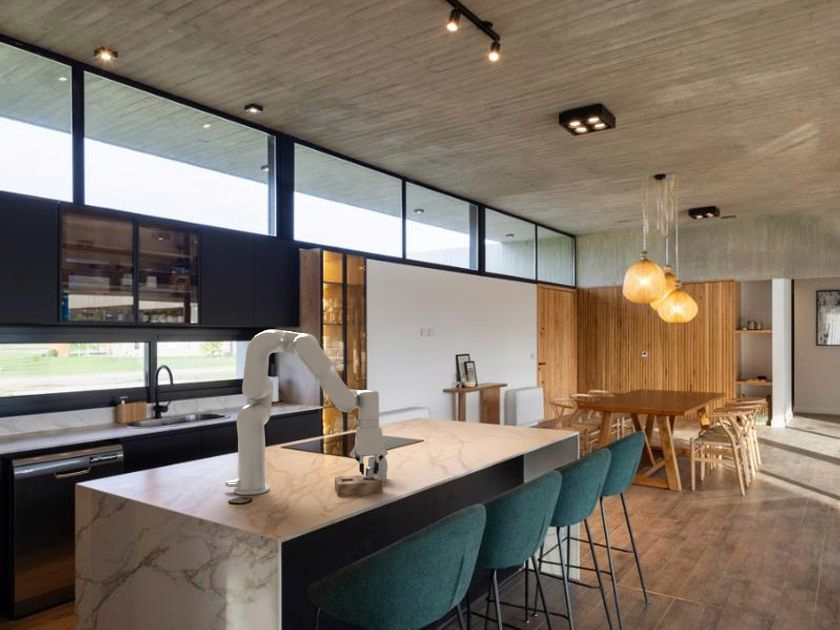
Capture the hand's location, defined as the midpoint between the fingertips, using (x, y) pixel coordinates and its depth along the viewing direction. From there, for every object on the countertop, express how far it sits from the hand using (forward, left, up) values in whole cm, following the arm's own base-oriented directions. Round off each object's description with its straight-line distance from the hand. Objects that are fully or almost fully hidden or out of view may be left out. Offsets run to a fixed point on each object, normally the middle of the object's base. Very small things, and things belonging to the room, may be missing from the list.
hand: (369, 473), depth 226 cm
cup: (+6, +13, -6) cm, 16 cm away
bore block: (-4, 0, -6) cm, 7 cm away
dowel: (0, 0, -5) cm, 5 cm away
